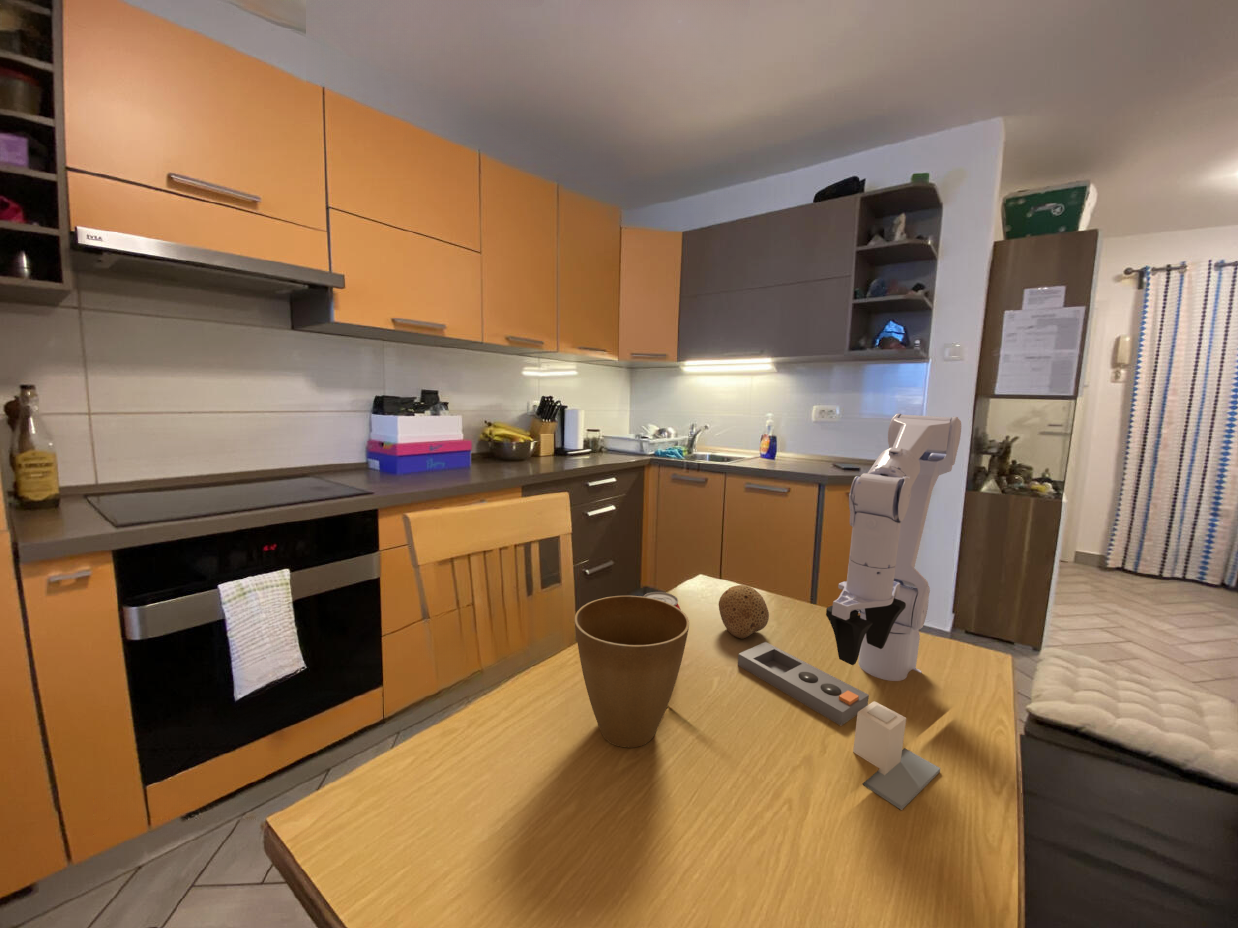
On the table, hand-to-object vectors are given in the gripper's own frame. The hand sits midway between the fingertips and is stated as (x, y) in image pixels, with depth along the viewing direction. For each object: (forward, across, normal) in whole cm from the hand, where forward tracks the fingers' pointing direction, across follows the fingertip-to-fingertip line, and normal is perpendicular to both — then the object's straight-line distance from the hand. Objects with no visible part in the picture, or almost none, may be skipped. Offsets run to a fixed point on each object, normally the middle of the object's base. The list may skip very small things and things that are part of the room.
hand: (861, 653), depth 71 cm
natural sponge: (+10, -4, -24) cm, 26 cm away
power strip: (+9, +2, -8) cm, 13 cm away
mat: (+9, +7, +7) cm, 14 cm away
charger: (+9, +7, +7) cm, 13 cm away
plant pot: (+10, +29, -16) cm, 34 cm away
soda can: (+10, +16, -25) cm, 31 cm away
